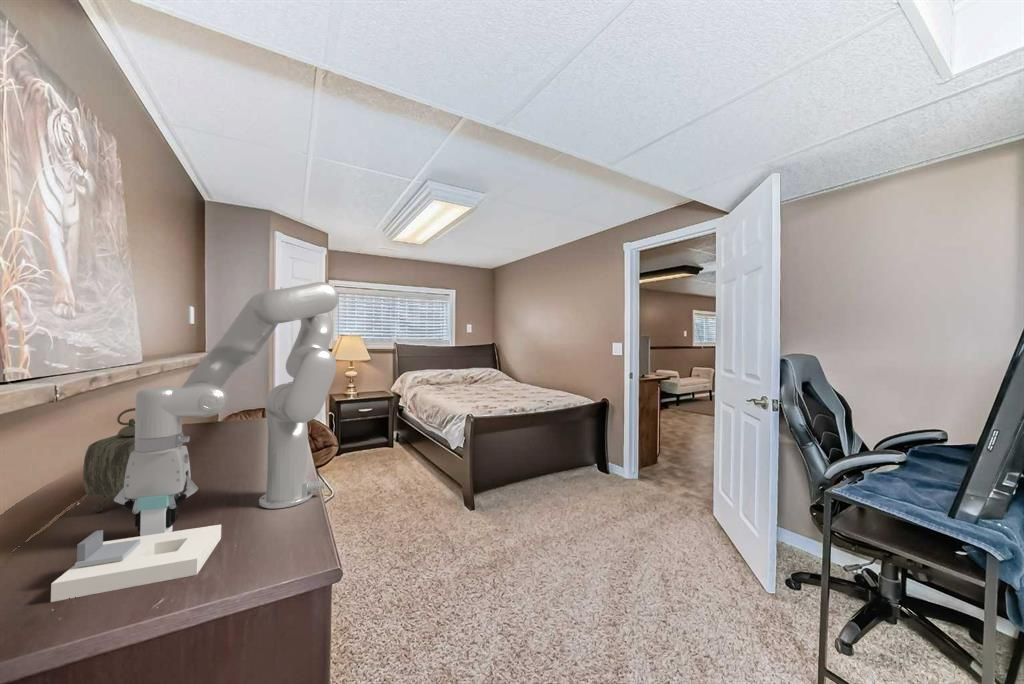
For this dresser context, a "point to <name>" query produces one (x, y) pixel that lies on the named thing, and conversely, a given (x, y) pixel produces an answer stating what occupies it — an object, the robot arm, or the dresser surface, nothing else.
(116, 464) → the tabletop clock
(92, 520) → the dresser surface
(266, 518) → the dresser surface
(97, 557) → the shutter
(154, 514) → the plug
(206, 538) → the socket
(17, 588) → the dresser surface
